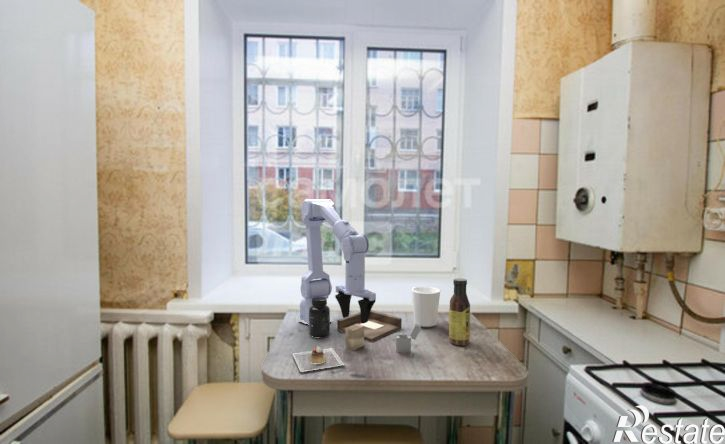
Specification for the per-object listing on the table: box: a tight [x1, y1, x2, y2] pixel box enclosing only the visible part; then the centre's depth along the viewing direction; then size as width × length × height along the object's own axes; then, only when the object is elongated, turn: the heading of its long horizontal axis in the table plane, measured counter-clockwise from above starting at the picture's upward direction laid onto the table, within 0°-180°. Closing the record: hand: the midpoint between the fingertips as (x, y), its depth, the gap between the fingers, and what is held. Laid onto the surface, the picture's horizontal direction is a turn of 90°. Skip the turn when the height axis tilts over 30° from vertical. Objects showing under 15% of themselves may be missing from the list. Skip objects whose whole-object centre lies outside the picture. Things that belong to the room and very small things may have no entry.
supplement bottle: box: [308, 297, 331, 338], centre depth 125 cm, size 7×7×12 cm
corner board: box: [336, 309, 403, 343], centre depth 130 cm, size 15×16×4 cm
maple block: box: [345, 324, 365, 351], centre depth 115 cm, size 3×5×6 cm, turn 139°
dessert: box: [291, 346, 345, 373], centre depth 106 cm, size 12×12×5 cm
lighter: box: [395, 324, 422, 354], centre depth 112 cm, size 7×2×8 cm, turn 91°
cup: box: [411, 285, 441, 330], centre depth 134 cm, size 10×10×13 cm
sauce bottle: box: [448, 277, 471, 347], centre depth 118 cm, size 6×6×20 cm
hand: (355, 319), depth 115 cm, fingers open, 7 cm apart
